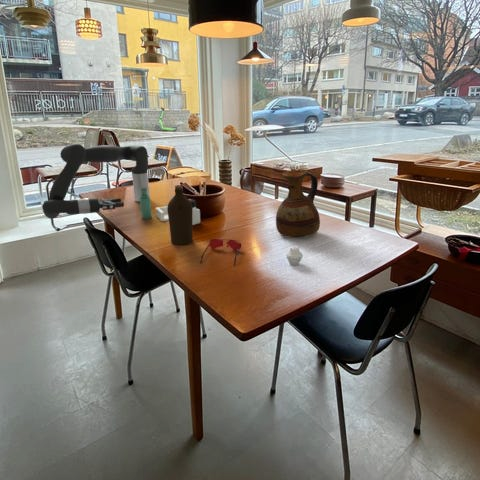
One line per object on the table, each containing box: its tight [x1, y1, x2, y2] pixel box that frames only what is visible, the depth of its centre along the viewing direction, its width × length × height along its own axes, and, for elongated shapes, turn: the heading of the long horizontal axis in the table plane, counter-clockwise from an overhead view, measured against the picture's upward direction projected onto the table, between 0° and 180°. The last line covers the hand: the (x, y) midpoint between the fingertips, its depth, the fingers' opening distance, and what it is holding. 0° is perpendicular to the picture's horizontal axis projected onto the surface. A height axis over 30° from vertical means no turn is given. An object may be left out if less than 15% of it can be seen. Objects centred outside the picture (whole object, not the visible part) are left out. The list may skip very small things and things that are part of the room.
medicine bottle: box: [187, 198, 201, 226], centre depth 186 cm, size 7×7×12 cm
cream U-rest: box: [155, 205, 169, 222], centre depth 197 cm, size 11×11×4 cm
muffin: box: [285, 246, 303, 266], centre depth 140 cm, size 6×6×7 cm
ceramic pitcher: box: [275, 169, 321, 239], centre depth 167 cm, size 20×20×30 cm
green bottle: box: [139, 187, 153, 220], centre depth 193 cm, size 5×5×16 cm
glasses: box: [199, 238, 242, 267], centre depth 147 cm, size 14×16×5 cm
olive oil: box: [167, 184, 194, 246], centre depth 159 cm, size 11×11×25 cm
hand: (122, 202), depth 188 cm, fingers open, 8 cm apart
